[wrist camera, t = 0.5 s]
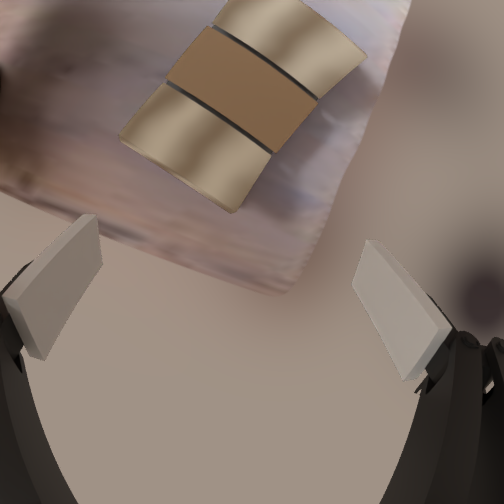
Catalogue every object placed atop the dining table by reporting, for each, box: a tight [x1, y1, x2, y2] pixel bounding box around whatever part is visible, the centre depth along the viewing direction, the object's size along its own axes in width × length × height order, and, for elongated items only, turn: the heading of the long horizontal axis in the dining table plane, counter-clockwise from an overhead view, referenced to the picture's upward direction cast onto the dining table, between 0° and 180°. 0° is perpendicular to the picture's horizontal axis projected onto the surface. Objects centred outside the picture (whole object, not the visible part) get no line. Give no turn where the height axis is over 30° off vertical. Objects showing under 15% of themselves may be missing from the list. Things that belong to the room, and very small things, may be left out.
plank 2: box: [212, 0, 367, 99], centre depth 21 cm, size 14×7×2 cm, turn 53°
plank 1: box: [119, 83, 271, 214], centre depth 26 cm, size 14×7×2 cm, turn 52°
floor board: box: [165, 25, 318, 155], centre depth 25 cm, size 14×23×4 cm, turn 142°
